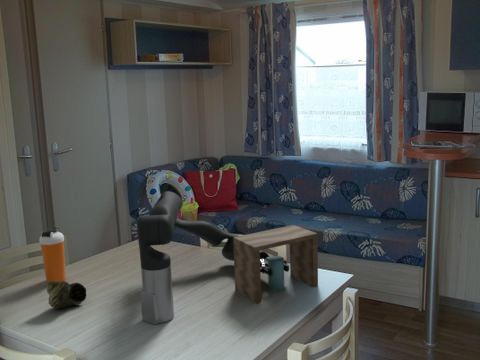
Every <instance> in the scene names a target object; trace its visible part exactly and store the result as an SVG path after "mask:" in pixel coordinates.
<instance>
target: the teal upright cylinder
mask: <svg viewBox="0 0 480 360" xmlns="http://www.w3.org/2000/svg"><path fill="white" fill-rule="evenodd" d="M284 259H285V258H284V257H282V256H280V255H274V256H272V255H271V256H269V258H268V268H270V269H272V271H273V275H272V276H270V275H267V279H268V280H267V281H268V290H269V291H271V292H281V291H283V290H285V271H284Z"/></svg>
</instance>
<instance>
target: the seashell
mask: <svg viewBox="0 0 480 360" xmlns="http://www.w3.org/2000/svg"><path fill="white" fill-rule="evenodd" d="M45 287H46V292H47V293H46V294H48V299H47V300H48V304H49V306H50V307H52V308H53V309H57V310H59V309H63V308H67V307H71V306H75V305H80V304H82V303H83V302H84V301H85V300H86V299H87V288H86V287H85V286H84V285H83V284H82V283H80V282H74V283H69V282H67V281H66V280H64V281H59V282H55V281H46V282H45Z"/></svg>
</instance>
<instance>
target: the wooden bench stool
mask: <svg viewBox="0 0 480 360" xmlns="http://www.w3.org/2000/svg"><path fill="white" fill-rule="evenodd" d="M318 237H319V236H318V233H317V232H315V231H312V230H309V229H306V228H303V227H301V226H298V225H295V224H292V225H287V226H282V227H278V228H277V227H276V228H272V229H267V230H263V231H258V232H254V233H253V232H252V233H248V234H243V235H239V236H237V237H233V247H234V261H233V263H234V264H233V266H234V267H233V268H234V270H233V271H234V289H235V291H236V292H237V293H239V294H240V295H242V296H244V297H245V298H247V299H248V300H250V301H251V302H253V303H255V304H260V303H262V284H261V282H262V281H261V280H262V279H261V273H260V250H262V251H264V250H268V249H271V248H272V249H273V248H277V247H282V246H286V245H289V271H290V273H289V274H290V276H291V277H292V278H294V279H296V280H298V281H300V282H302V283H304V284H306V285H308V286H310V287H312V288H317V287H319V262H318V261H319V257H318V255H319V254H318V250H319V249H318V248H319V247H318V242H319V241H318V240H319V239H318Z"/></svg>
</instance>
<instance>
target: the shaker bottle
mask: <svg viewBox="0 0 480 360" xmlns="http://www.w3.org/2000/svg"><path fill="white" fill-rule="evenodd" d="M59 229H60V228H59V227H52V228H49V229H48V230H46V231H41V234H40V237H39V238H38V240H39V245H40V248H41V255H42V262H43V268H44V269H43V270H44V274H45V275H44V276H45V280H46V282H47V281H55V282H59V281H66V278H67V277H66V259H65V256H66V255H65V254H66V253H65V236H64V234H63V233H62V232H60V231H58V230H59Z"/></svg>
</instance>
